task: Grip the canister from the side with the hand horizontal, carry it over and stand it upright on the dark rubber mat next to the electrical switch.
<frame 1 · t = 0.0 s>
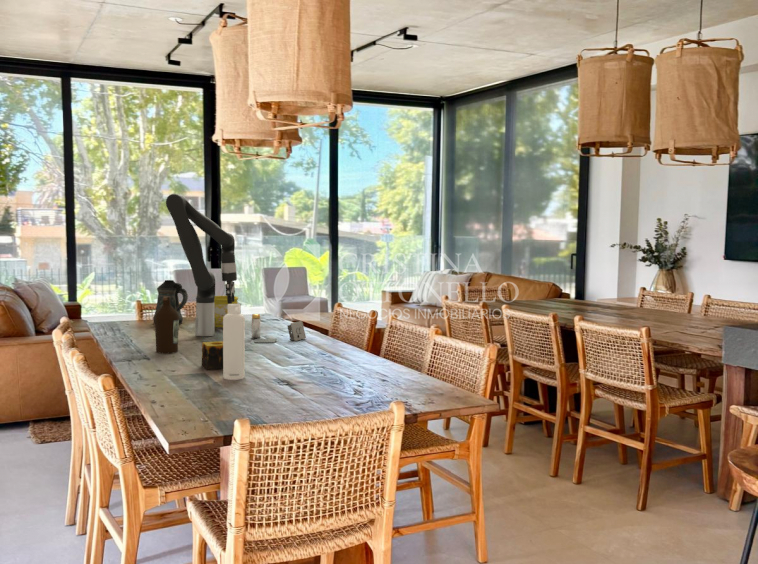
hand: (231, 302, 369), 17 cm above the table, tool pointing down, fingers open, 8 cm apart
beer stein: (170, 323, 410), on the table
mat: (265, 341, 353), on the table
canister: (256, 337, 364), on the table
olive oil: (167, 352, 321), on the table
yellow black spotted box: (216, 368, 289), on the table
electrical switch: (296, 340, 360), on the table
flowerpot: (222, 326, 403), on the table
bottle: (234, 378, 270), on the table
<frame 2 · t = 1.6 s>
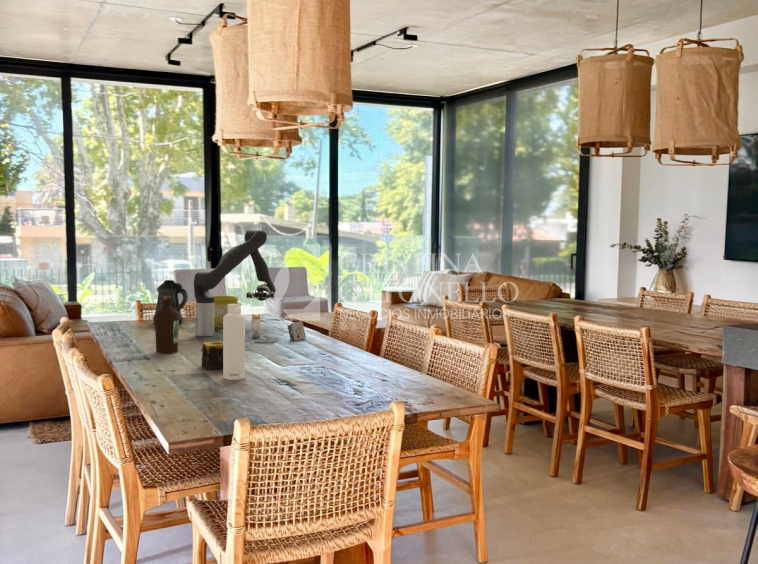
hand: (258, 296, 373), 20 cm above the table, tool horizontal, fingers open, 8 cm apart
nothing on the table moved.
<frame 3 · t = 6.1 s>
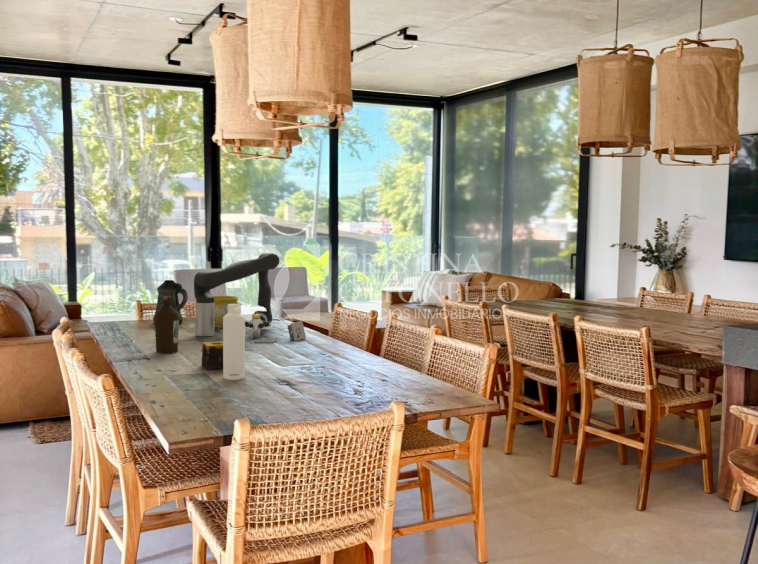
hand: (255, 325, 360), 7 cm above the table, tool horizontal, fingers closed on canister, 4 cm apart
canister: (256, 337, 364), on the table, touching gripper
everything else where it was.
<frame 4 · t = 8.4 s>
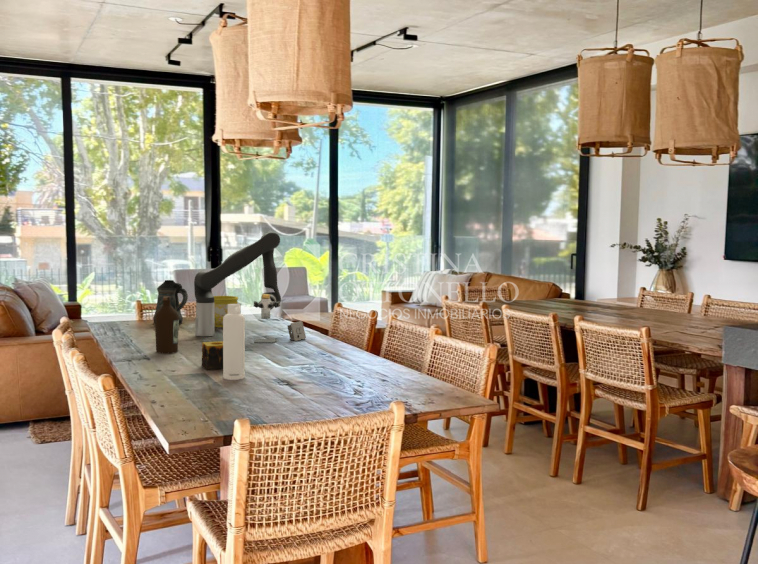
hand: (265, 306, 350), 18 cm above the table, tool horizontal, fingers closed on canister, 4 cm apart
canister: (265, 318, 353), point 11 cm above the table, touching gripper
everything else where it was.
when the fingers open (8 cm above the table, at t = 10.7 s): canister drops 1 cm, resting on mat.
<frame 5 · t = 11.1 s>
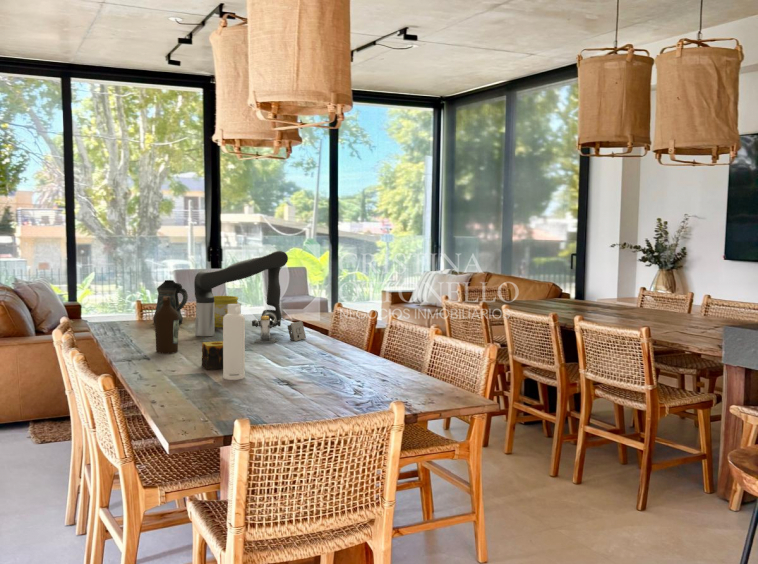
hand: (265, 325, 350), 8 cm above the table, tool horizontal, fingers open, 8 cm apart
canister: (265, 340, 353), point 1 cm above the table, touching mat
everything else where it was.
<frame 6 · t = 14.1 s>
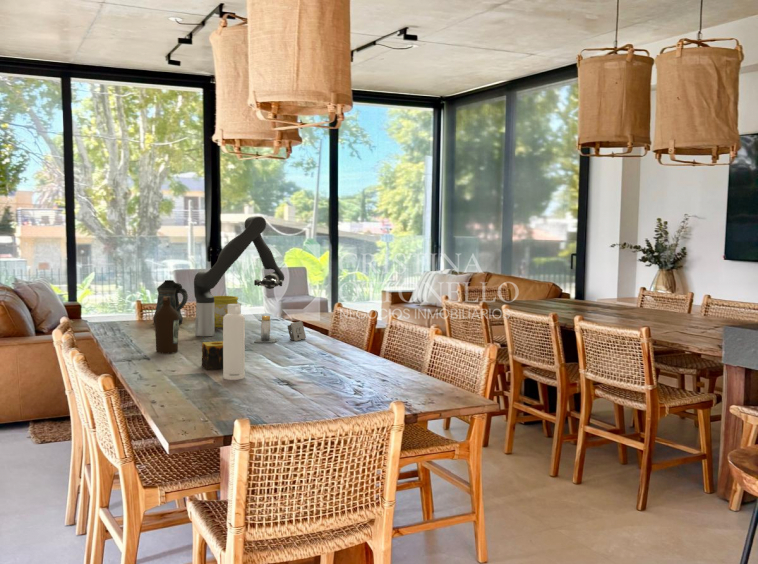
hand: (266, 284, 362), 28 cm above the table, tool horizontal, fingers open, 8 cm apart
nothing on the table moved.
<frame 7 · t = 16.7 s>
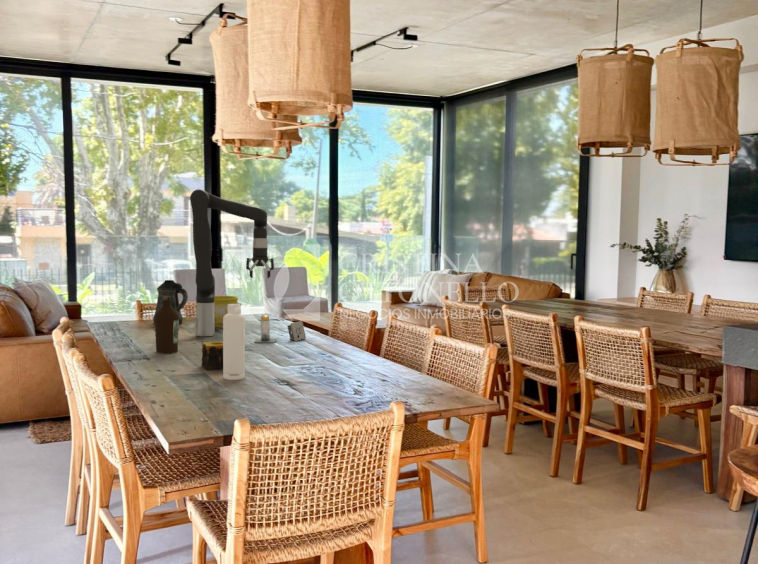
hand: (260, 278, 370), 30 cm above the table, tool pointing down, fingers open, 8 cm apart
nothing on the table moved.
at the end: canister inside the target area on the mat (0.1 cm from its centre), point 0.7 cm above the mat's base; canister tilted 2°; the gripper is holding nothing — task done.
